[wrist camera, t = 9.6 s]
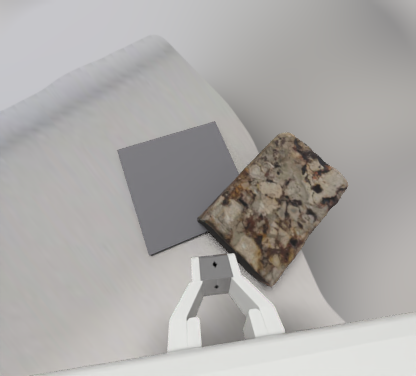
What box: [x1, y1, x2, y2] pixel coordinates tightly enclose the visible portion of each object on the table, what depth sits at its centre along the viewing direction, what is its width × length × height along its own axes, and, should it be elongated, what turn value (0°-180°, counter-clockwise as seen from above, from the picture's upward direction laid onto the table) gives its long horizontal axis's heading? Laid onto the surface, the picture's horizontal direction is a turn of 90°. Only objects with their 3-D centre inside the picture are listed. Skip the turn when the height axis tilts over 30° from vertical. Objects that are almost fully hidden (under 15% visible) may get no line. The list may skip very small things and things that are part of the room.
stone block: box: [197, 132, 348, 287], centre depth 25 cm, size 13×7×20 cm
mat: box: [117, 121, 239, 255], centre depth 27 cm, size 18×18×1 cm
